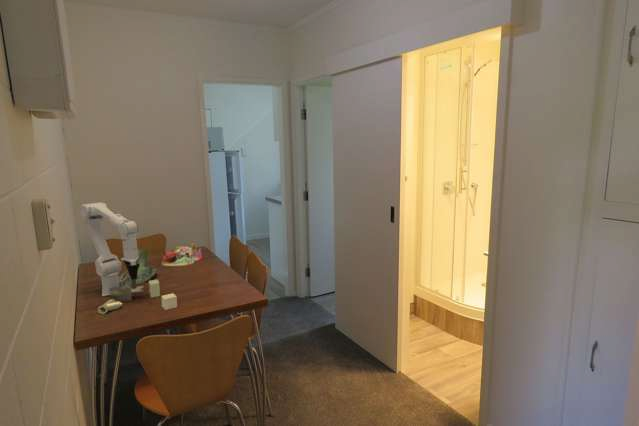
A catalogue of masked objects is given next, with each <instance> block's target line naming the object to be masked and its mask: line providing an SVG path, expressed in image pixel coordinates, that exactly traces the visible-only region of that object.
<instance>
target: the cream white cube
mask: <svg viewBox="0 0 639 426" xmlns="http://www.w3.org/2000/svg"><path fill="white" fill-rule="evenodd" d="M160 296H161V297H160V298H161V307H162V308H163V309H164V311H167V310H172V309H176V308H178V300H177V299H178V297H177V295H176V294H175V293H169V294H164V295H160Z"/></svg>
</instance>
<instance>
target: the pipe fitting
mask: <svg viewBox="0 0 639 426" xmlns="http://www.w3.org/2000/svg"><path fill="white" fill-rule="evenodd" d="M122 306H123V302H119V301H115V300H113V299H110V298H109V299H108V300H107V301H105V302H104V303H103V304H102V305H100V306H98V308H97V310H98V312H97V313H99V314H101V315H104V314H106V313H108V312H111V311H115V310H119V309H121V307H122Z"/></svg>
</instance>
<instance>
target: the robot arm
mask: <svg viewBox="0 0 639 426" xmlns="http://www.w3.org/2000/svg"><path fill="white" fill-rule="evenodd" d="M79 213H80V215H81V218H82V221H83V223H84V224H86V227H87V230H88V232H89V235H90V237H91V240H92V243H93V245H94V247H95V251H96V252H97V255H98V258H97V259H96V260H95V262H94V265H95V272H96V274H97V275H98V276H99V277H100V279H101V288H102V289H101V296H102V297H106V296H110V290H109V288H113V287H119V277H120V276H119V274H120V272H121V270H122V267H123V265H122V262H121V261H123V263H124V264H125V268H126V270H127V269H128V273H129V275H130V277H131V280H133V279H136V278H137V272H138V268H139V266H140V264H136V261H137V259H138V258H139V257H138V251H137V249H138V243H137V233H138V231H139V224H138V223H137V222H136V221H135V220H129V219H127V218H125V217H124V216H123V215H122V214H121V213H114V212H113V211H111V210H110V209H109V208H108V205H107V204H106V203H105V202H104V201H103V202H102V201H101V202H100V201H99V202H94V203H93V202H92V203H87V204H86V203H83V204H82V205H81V207H80V210H79ZM103 219H106V220H108V221H109V224H110V225H111V226H113V227H114V228H115V229H116V230H118V233H119V235H120V239H121V241H122V252H123V257H122V258H120V259H121V260H119V258H118V256H117V255H116V254H113V253H111V251H110V248H109V245H108V242H107V240H106V238H105V235H104V232H103V229H102V227H101V225H100V223H101V222H103Z"/></svg>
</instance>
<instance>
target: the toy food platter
mask: <svg viewBox="0 0 639 426" xmlns="http://www.w3.org/2000/svg"><path fill="white" fill-rule="evenodd" d="M198 248H199V249H198ZM201 252H202V250H201V247H199V246H198V245H196V246H195V243H191V244H190V247H189V246H179V245H178V246H176V247H175V250H174V251H171V250H168V251H166V252H165V256H163V257H162V261H161V266H164V267H181V266H182V267H183V266H189V265H192V264H194V263H195V262H196V261H201V260H202V258H203V255H202V253H201Z"/></svg>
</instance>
